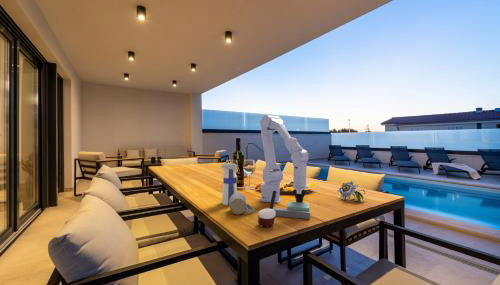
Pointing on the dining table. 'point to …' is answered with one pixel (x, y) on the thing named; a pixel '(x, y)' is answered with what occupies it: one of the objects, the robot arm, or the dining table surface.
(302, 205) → the block
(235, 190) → the water bottle
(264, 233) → the dining table surface
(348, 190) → the passion flower
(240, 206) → the ceramic mug
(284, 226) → the dining table surface
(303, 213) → the gray bar
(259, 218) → the cocoa
